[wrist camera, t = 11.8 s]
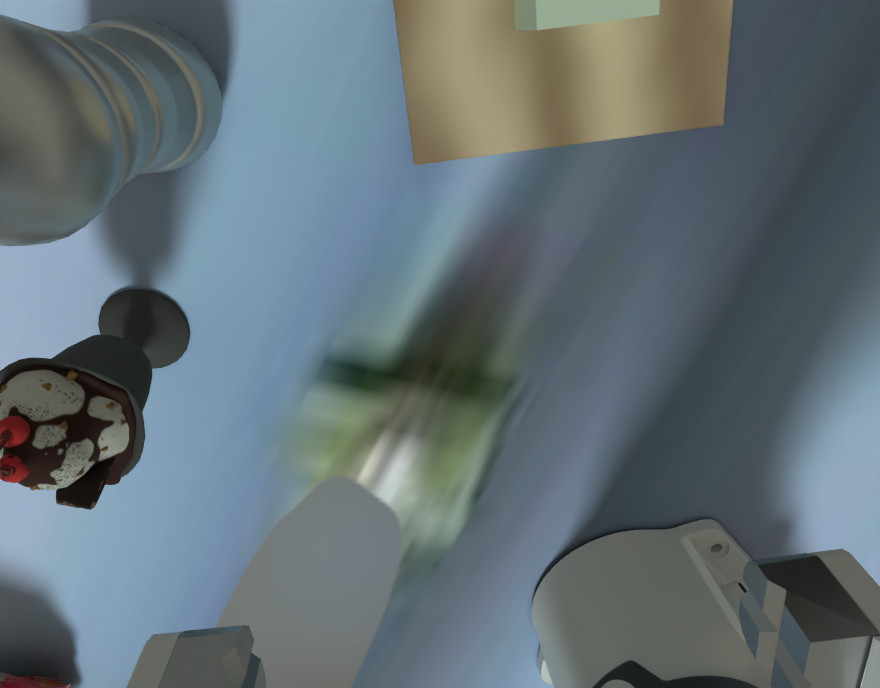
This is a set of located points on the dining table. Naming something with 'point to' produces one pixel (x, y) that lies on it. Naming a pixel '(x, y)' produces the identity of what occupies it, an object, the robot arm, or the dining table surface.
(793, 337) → the dining table surface
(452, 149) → the tan square board
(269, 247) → the dining table surface
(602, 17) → the sage block
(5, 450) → the sundae
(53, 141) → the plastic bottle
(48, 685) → the flower
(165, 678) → the robot arm
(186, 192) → the dining table surface
